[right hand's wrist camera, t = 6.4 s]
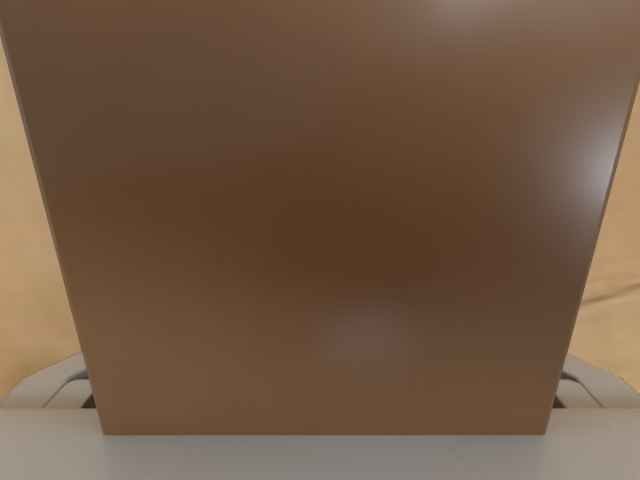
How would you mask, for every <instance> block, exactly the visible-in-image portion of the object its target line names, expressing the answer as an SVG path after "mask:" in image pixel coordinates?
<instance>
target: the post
mask: <svg viewBox="0 0 640 480" xmlns="http://www.w3.org/2000/svg"><path fill="white" fill-rule="evenodd" d="M0 36H1V39H2V43H3V47H4V51H5V55H6V59H7V63H8V67H9V71H10V74H11V78H12V82H13V86H14V90H15V94H16V98H17V102H18V105H19V109H20V113H21V117H22V121H23V125H24V129H25V133H26V137H27V140H28V144H29V148H30V152H31V156H32V160H33V164H34V168H35V171H36V175H37V179H38V183H39V187H40V191H41V195H42V199H43V203H44V206H45V210H46V214H47V218H48V222H49V226H50V230H51V234H52V237H53V241H54V245H55V249H56V253H57V257H58V261H59V265H60V269H61V272H62V276H63V280H64V284H65V288H66V292H67V296H68V300H69V303H70V307H71V311H72V315H73V319H74V323H75V327H76V331H77V335H78V338H79V342H80V346H81V350H82V354H83V358H84V362H85V366H86V370H87V373H88V377H89V381H90V385H91V389H92V393H93V397H94V401H95V404H96V408H97V412H98V416H99V420H100V424H101V428H102V432H103V434H104V435H544V434H545V433H546V430H547V426H548V422H549V418H550V415H551V411H552V407H553V403H554V400H555V396H556V392H557V388H558V385H559V381H560V377H561V373H562V370H563V366H564V362H565V358H566V355H567V351H568V347H569V343H570V340H571V336H572V332H573V329H574V325H575V321H576V317H577V314H578V310H579V306H580V302H581V299H582V295H583V291H584V287H585V284H586V280H587V276H588V272H589V269H590V265H591V261H592V257H593V254H594V250H595V246H596V242H597V239H598V235H599V231H600V227H601V224H602V220H603V216H604V212H605V209H606V205H607V201H608V197H609V194H610V190H611V186H612V182H613V179H614V175H615V171H616V168H617V164H618V160H619V156H620V153H621V149H622V145H623V141H624V138H625V134H626V130H627V126H628V123H629V119H630V115H631V111H632V108H633V104H634V100H635V96H636V93H637V89H638V85H639V81H640V0H0Z"/></svg>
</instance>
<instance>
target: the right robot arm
mask: <svg viewBox="0 0 640 480" xmlns="http://www.w3.org/2000/svg"><path fill="white" fill-rule="evenodd" d="M0 480H640V394H639V393H638V392H637V391H635V390H634V389H633V388H632V387H631V386H630V385H629V384H628V383H627V382H626V381H625V380H623V379H622V378H620V377H618V376H616V375H614V374H612V373H609V372H607V371H605V370H603V369H601V368H598V367H596V366H594V365H592V364H590V363H588V362H585V361H583V360H581V359H579V358H577V357H574V356H572V355H570V354H568V353H567V355H566V358H565V362H564V366H563V370H562V373H561V377H560V381H559V385H558V388H557V392H556V396H555V400H554V403H553V407H552V411H551V415H550V418H549V422H548V426H547V430H546V433H545V434H544V435H104V434H103V432H102V428H101V424H100V420H99V416H98V412H97V408H96V404H95V401H94V397H93V393H92V389H91V385H90V381H89V377H88V373H87V370H86V366H85V362H84V358H83V354H82V351H81V352H79V353H77V354H75V355H73V356H71V357H68V358H66V359H64V360H62V361H60V362H57V363H55V364H53V365H51V366H49V367H47V368H44V369H42V370H40V371H38V372H36V373H34V374H31V375H29V376H27V377H25V378H24V379H22V380H21V381H20V382H19V383H18V384H17V385H16V386H15V387H14V388H13V389H12V390H11V391H10V392H8V393H7V394H6V395H5V396H4V397H3V398H2V399H1V400H0Z"/></svg>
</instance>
